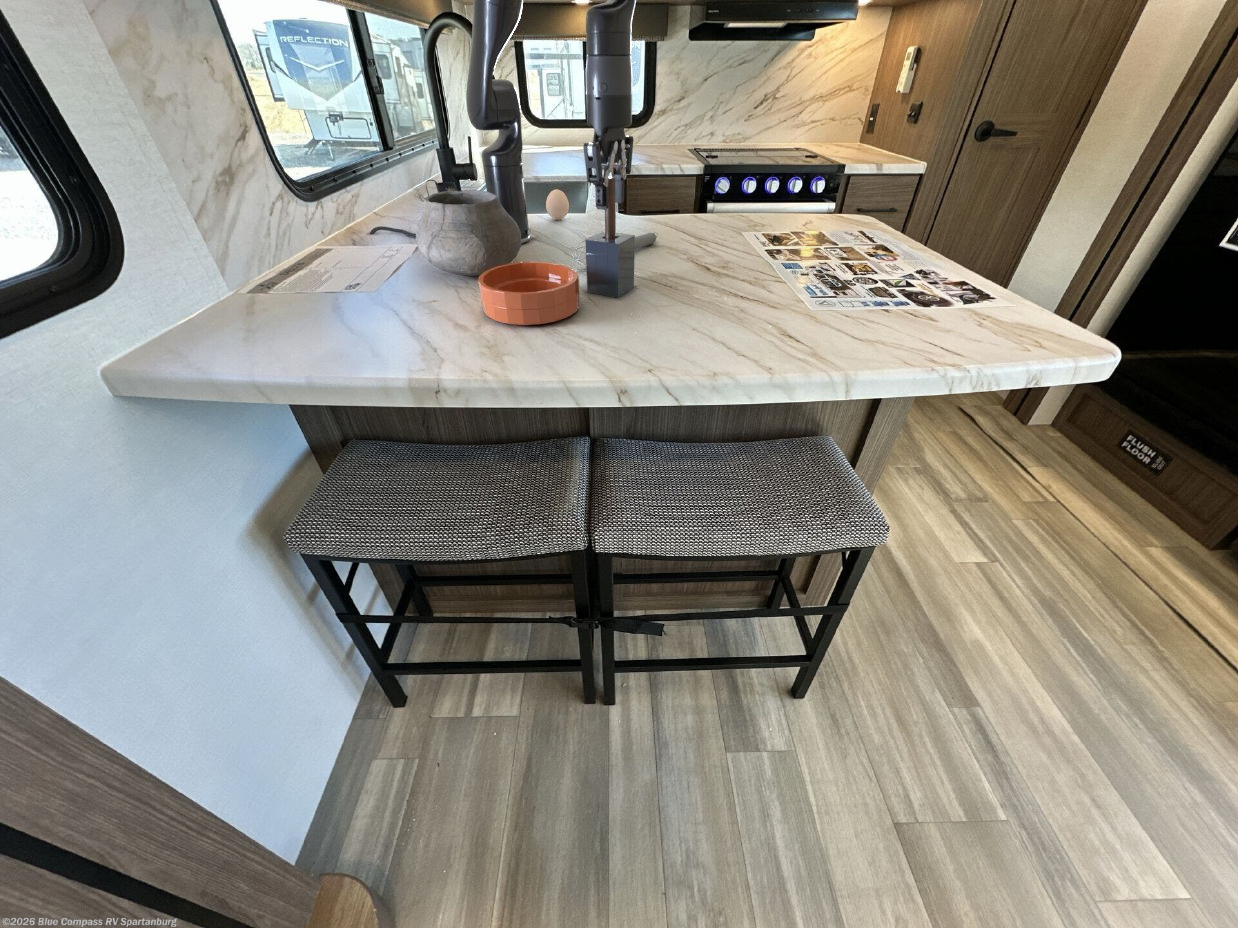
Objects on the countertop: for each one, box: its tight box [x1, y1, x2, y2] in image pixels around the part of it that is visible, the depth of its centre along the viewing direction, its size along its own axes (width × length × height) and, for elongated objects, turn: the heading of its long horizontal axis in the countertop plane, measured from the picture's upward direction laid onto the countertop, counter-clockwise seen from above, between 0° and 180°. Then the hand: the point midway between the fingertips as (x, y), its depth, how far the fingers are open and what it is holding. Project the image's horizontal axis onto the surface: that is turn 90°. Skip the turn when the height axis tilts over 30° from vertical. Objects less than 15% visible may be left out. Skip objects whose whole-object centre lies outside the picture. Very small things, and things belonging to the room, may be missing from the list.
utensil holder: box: [584, 230, 636, 299], centre depth 99 cm, size 7×7×10 cm
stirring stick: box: [604, 176, 617, 240], centre depth 96 cm, size 2×2×20 cm
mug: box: [425, 179, 458, 197], centre depth 137 cm, size 8×6×12 cm
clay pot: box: [415, 189, 522, 277], centre depth 106 cm, size 22×21×15 cm
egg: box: [545, 189, 570, 221], centre depth 146 cm, size 7×7×8 cm
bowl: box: [477, 260, 581, 326], centre depth 92 cm, size 18×18×6 cm
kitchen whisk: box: [571, 231, 658, 273], centre depth 118 cm, size 6×34×6 cm, turn 146°
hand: (610, 205), depth 93 cm, fingers open, 5 cm apart
